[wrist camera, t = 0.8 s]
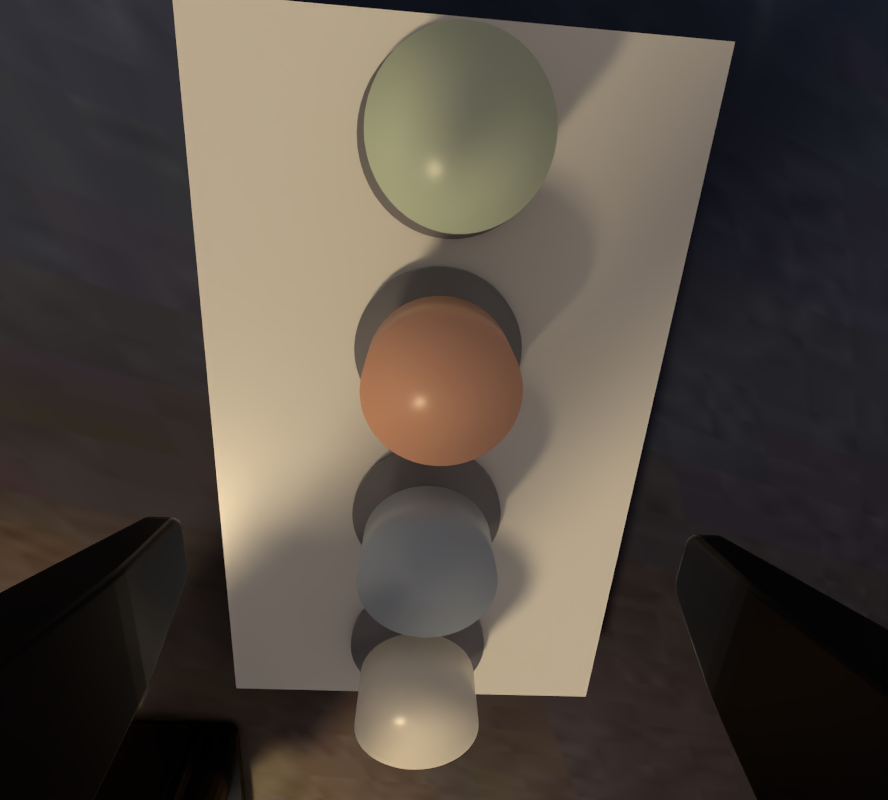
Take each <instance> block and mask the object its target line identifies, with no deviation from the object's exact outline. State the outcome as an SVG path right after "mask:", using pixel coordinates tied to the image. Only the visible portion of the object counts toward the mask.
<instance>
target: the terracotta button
mask: <svg viewBox="0 0 888 800" xmlns="http://www.w3.org/2000/svg"><path fill="white" fill-rule="evenodd" d="M359 391H360V402H361V407H362V411H363V414H364V417H365V420H366V421H367V423H368V425H369V427H370V429H371V430H372V432H373V433H374V435H375V436H376V437H377V438H378V439H379V440H380V442H381V443H382V444H384V445H385V446H386V447H387V448H388V449H389V450H391V451H392V452H394V453H396V454H397V455H399V456H401V457H403V458H405V459H407V460H410V461H413V462H415V463H419V464H424V465H431V466H450V465H457V464H461V463H465V462H468V461H471V460H474V459H476V458H478V457H480V456H482V455H484V454H486V453H487V452H488V451H490V450H491V449H493V448H494V447H495V446H496V445H498V444H499V443H500V442H501V441H502V440H503V439H504V437H505V436H506V435H507V434H508V432H509V431H510V430H511V428H512V427H513V425H514V423H515V421H516V419H517V417H518V414H519V411H520V408H521V403H522V397H523V382H522V376H521V371H520V368H519V365H518V362H517V360H516V358H515V355H514V353H513V351H512V349H511V347H510V345H509V343H508V341H507V338H506V336H505V335H504V333H503V331H502V329H501V327H500V326H499V325H498V323H497V322H496V321H495V320H494V319H493V318H492V317H491V316H490V315H489V314H488V313H487V312H486V311H484V310H483V309H482V308H480V307H478V306H477V305H475V304H473V303H471V302H469V301H466V300H464V299H460V298H456V297H450V296H430V297H424V298H420V299H416V300H413V301H411V302H409V303H406V304H404V305H403V306H401V307H399V308H398V309H396V310H395V311H394V312H392V313H391V314H390V315H389V316H388V317H387V318H386V319H385V320H384V321H383V322H382V324H381V325H380V326H379V328H378V329H377V331H376V333H375V335H374V336H373V339H372V341H371V344H370V347H369V350H368V354H367V357H366V360H365V364H364V367H363V371H362V375H361V379H360V389H359Z"/></svg>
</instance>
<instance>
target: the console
mask: <svg viewBox="0 0 888 800" xmlns="http://www.w3.org/2000/svg"><path fill="white" fill-rule="evenodd" d="M173 10H174V21H175V32H176V43H177V54H178V64H179V75H180V86H181V97H182V108H183V118H184V129H185V140H186V151H187V162H188V173H189V183H190V194H191V205H192V216H193V227H194V237H195V248H196V259H197V270H198V281H199V291H200V302H201V313H202V324H203V335H204V345H205V356H206V367H207V378H208V389H209V399H210V410H211V421H212V432H213V443H214V453H215V464H216V475H217V486H218V497H219V507H220V518H221V529H222V540H223V551H224V562H225V572H226V583H227V594H228V605H229V616H230V626H231V637H232V648H233V659H234V670H235V680H236V688H246V689H288V690H330V691H359V683H360V675H361V668H362V665H363V662H364V660H365V658H366V657H367V655H368V654H369V653H370V652H371V651H372V650H373V649H374V648H375V647H376V646H377V645H379V644H380V643H382V642H384V641H385V640H388V639H390V638H392V637H395V636H398V635H403V634H400V633H397V632H394V631H392V630H390V629H388V628H386V627H384V626H382V625H381V624H380V623H378V622H377V621H376V620H375V619H374V618H372V617H371V616H370V614H369V613H368V612H367V611H366V610H365V608H364V606H363V605H362V603H361V601H360V598H359V595H358V591H357V582H356V581H357V572H358V566H359V560H360V553H361V547H362V541H363V535H364V530H365V526H366V523H367V521H368V518H369V517H370V515H371V513H372V512H373V511H374V509H375V508H376V507H377V506H378V505H379V504H380V503H381V502H382V501H383V500H385V499H386V498H388V497H389V496H391V495H393V494H395V493H397V492H399V491H402V490H404V489H408V488H412V487H418V486H437V487H443V488H447V489H450V490H453V491H456V492H458V493H460V494H462V495H464V496H465V497H467V498H469V499H470V500H471V501H472V502H473V503H475V504H476V505H477V507H478V508H479V509H480V510H481V511H482V513H483V515H484V516H485V518H486V520H487V523H488V526H489V530H490V536H491V541H492V547H493V552H494V558H495V564H496V569H497V577H498V583H497V590H496V594H495V597H494V599H493V601H492V603H491V605H490V607H489V608H488V609H487V611H486V612H485V613H484V614H483V615H482V616H481V617H480V618H479V619H478V620H477V621H475V622H474V623H473V624H471V625H470V626H468V627H466V628H465V629H462V630H460V631H458V632H455V633H452V634H449V635H445V636H441V637H444V638H446V639H448V640H450V641H452V642H454V643H455V644H457V645H458V646H459V647H461V648H462V649H463V650H464V651H465V653H466V654H467V655H468V657H469V659H470V660H471V663H472V666H473V672H474V682H475V692H476V694H499V695H541V696H583V697H586V693H587V688H588V684H589V680H590V675H591V671H592V667H593V662H594V658H595V653H596V649H597V645H598V640H599V636H600V632H601V627H602V623H603V618H604V614H605V610H606V605H607V601H608V597H609V592H610V588H611V583H612V579H613V575H614V570H615V566H616V562H617V557H618V553H619V548H620V544H621V540H622V535H623V531H624V526H625V522H626V518H627V513H628V509H629V505H630V500H631V496H632V491H633V487H634V483H635V478H636V474H637V470H638V465H639V461H640V456H641V452H642V448H643V443H644V439H645V435H646V430H647V426H648V421H649V417H650V413H651V408H652V404H653V400H654V395H655V391H656V386H657V382H658V378H659V373H660V369H661V365H662V360H663V356H664V351H665V347H666V343H667V338H668V334H669V329H670V325H671V321H672V316H673V312H674V308H675V303H676V299H677V294H678V290H679V286H680V281H681V277H682V273H683V268H684V264H685V259H686V255H687V251H688V246H689V242H690V238H691V233H692V229H693V224H694V220H695V216H696V211H697V207H698V203H699V198H700V194H701V189H702V185H703V181H704V176H705V172H706V168H707V163H708V159H709V154H710V150H711V146H712V141H713V137H714V132H715V128H716V124H717V119H718V115H719V111H720V106H721V102H722V97H723V93H724V89H725V84H726V80H727V76H728V71H729V67H730V62H731V58H732V54H733V49H734V45H735V42H733V41H722V40H711V39H700V38H689V37H678V36H667V35H657V34H646V33H635V32H624V31H613V30H602V29H591V28H581V27H570V26H559V25H548V24H537V23H526V22H515V21H505V20H494V19H483V18H472V17H461V16H450V15H439V14H429V13H418V12H407V11H396V10H385V9H374V8H363V7H353V6H342V5H331V4H320V3H309V2H298V1H287V0H173ZM450 20H474V21H479V22H484V23H487V24H490V25H493V26H496V27H498V28H500V29H502V30H504V31H506V32H508V33H509V34H511V35H512V36H514V37H515V38H516V39H518V40H519V41H520V42H521V43H522V44H523V45H524V46H525V47H527V48H528V49H529V50H530V52H531V53H532V54H533V55H534V57H535V58H536V59H537V60H538V62H539V64H540V65H541V67H542V69H543V70H544V72H545V74H546V76H547V78H548V81H549V83H550V85H551V88H552V92H553V95H554V99H555V104H556V110H557V122H558V131H557V143H556V148H555V153H554V157H553V160H552V163H551V166H550V169H549V171H548V173H547V176H546V178H545V180H544V182H543V183H542V185H541V187H540V188H539V190H538V192H537V193H536V194H535V195H534V197H533V198H532V199H531V201H530V202H529V203H528V204H527V205H526V206H525V207H524V208H523V209H522V210H521V211H520V212H518V213H517V214H516V215H514V216H513V217H512V218H510V219H509V220H507V221H505V222H504V223H502V224H500V225H498V226H496V227H493V228H491V229H488V230H485V231H481V232H477V233H470V234H450V233H442V232H439V231H435V230H431V229H429V228H426V227H424V226H422V225H419V224H418V223H416V222H414V221H413V220H411V219H409V218H408V217H407V216H405V215H404V214H403V213H402V212H400V211H399V210H398V209H397V208H396V207H395V206H394V205H393V204H392V203H391V202H390V201H389V199H388V198H387V197H386V195H385V194H384V193H383V191H382V190H381V188H380V186H379V185H378V183H377V181H376V179H375V177H374V175H373V172H372V170H371V168H370V164H369V161H368V157H367V154H366V148H365V142H364V114H365V108H366V103H367V98H368V95H369V92H370V89H371V86H372V83H373V81H374V79H375V77H376V75H377V73H378V71H379V69H380V68H381V66H382V64H383V63H384V61H385V60H386V58H387V57H388V56H389V55H390V54H391V53H392V51H393V50H394V49H395V48H396V47H397V46H398V45H399V44H401V43H402V42H403V41H404V40H405V39H406V38H408V37H409V36H411V35H412V34H414V33H415V32H417V31H419V30H421V29H423V28H425V27H427V26H430V25H433V24H436V23H439V22H443V21H450ZM430 296H450V297H456V298H460V299H464V300H466V301H469V302H471V303H473V304H475V305H477V306H478V307H480V308H482V309H483V310H484V311H486V312H487V313H488V314H489V315H490V316H491V317H492V318H493V319H494V320H495V321H496V322H497V323H498V325H499V326H500V327H501V329H502V331H503V333H504V335H505V336H506V338H507V341H508V343H509V345H510V347H511V349H512V351H513V353H514V355H515V358H516V360H517V362H518V365H519V368H520V371H521V376H522V382H523V397H522V403H521V408H520V411H519V414H518V417H517V419H516V421H515V423H514V425H513V427H512V428H511V430H510V431H509V432H508V434H507V435H506V436H505V437H504V439H503V440H502V441H501V442H500V443H499V444H498V445H496V446H495V447H494V448H493V449H491V450H490V451H488V452H487V453H486V454H484V455H482V456H480V457H478V458H476V459H474V460H471V461H468V462H465V463H461V464H457V465H450V466H431V465H424V464H419V463H415V462H413V461H410V460H407V459H405V458H403V457H401V456H399V455H397V454H396V453H394V452H392V451H391V450H389V449H388V448H387V447H386V446H385V445H384V444H382V443H381V442H380V440H379V439H378V438H377V437H376V436H375V435H374V433H373V432H372V430H371V429H370V427H369V425H368V423H367V421H366V420H365V417H364V414H363V411H362V407H361V402H360V391H359V389H360V379H361V375H362V371H363V367H364V364H365V360H366V357H367V354H368V350H369V347H370V344H371V341H372V339H373V336H374V335H375V333H376V331H377V329H378V328H379V326H380V325H381V324H382V322H383V321H384V320H385V319H386V318H387V317H388V316H389V315H390V314H391V313H392V312H394V311H395V310H396V309H398V308H399V307H401V306H403V305H404V304H406V303H409V302H411V301H413V300H416V299H420V298H424V297H430Z"/></svg>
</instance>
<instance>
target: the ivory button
mask: <svg viewBox="0 0 888 800" xmlns="http://www.w3.org/2000/svg"><path fill="white" fill-rule="evenodd" d="M354 731H355V735H356V739H357V741H358V743H359V744H360V746H361V747H362V749H363V750H364V751H365V752H366V753H367V754H369V755H370V756H371V757H372V758H374V759H376V760H377V761H379V762H381V763H383V764H386V765H389V766H392V767H396V768H401V769H412V770H417V769H429V768H434V767H438V766H441V765H444V764H447V763H449V762H451V761H453V760H455V759H457V758H458V757H460V756H461V755H462V754H464V753H465V752H466V751H467V750H468V749H469V748H470V746H471V745H472V744H473V742H474V740H475V738H476V736H477V732H478V713H477V703H476V692H475V682H474V672H473V666H472V663H471V660H470V659H469V657H468V655H467V654H466V653H465V651H464V650H463V649H462V648H461V647H459V646H458V645H457V644H455V643H454V642H452V641H450V640H448V639H446V638H444V637H441V636H440V637H428V638H422V637H412V636H407V635H398V636H395V637H392V638H390V639H388V640H385V641H384V642H382V643H380V644H379V645H377V646H376V647H375V648H374V649H373V650H372V651H371V652H370V653H369V654H368V655H367V657H366V658H365V660H364V662H363V665H362V668H361V675H360V683H359V691H358V699H357V707H356V715H355V723H354Z"/></svg>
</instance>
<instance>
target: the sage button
mask: <svg viewBox="0 0 888 800" xmlns="http://www.w3.org/2000/svg"><path fill="white" fill-rule="evenodd" d="M557 131H558V122H557V110H556V104H555V99H554V95H553V92H552V88H551V85H550V83H549V81H548V78H547V76H546V74H545V72H544V70H543V69H542V67H541V65H540V64H539V62H538V60H537V59H536V58H535V57H534V55H533V54H532V53H531V52H530V50H529V49H528V48H527V47H525V46H524V45H523V44H522V43H521V42H520V41H519V40H518V39H516V38H515V37H514V36H512V35H511V34H509V33H508V32H506V31H504V30H502V29H500V28H498V27H496V26H493V25H490V24H487V23H484V22H479V21H474V20H450V21H443V22H439V23H436V24H433V25H430V26H427V27H425V28H423V29H421V30H419V31H417V32H415V33H414V34H412V35H411V36H409V37H408V38H406V39H405V40H404V41H403V42H402V43H401V44H399V45H398V46H397V47H396V48H395V49H394V50H393V51H392V53H391V54H390V55H389V56H388V57H387V58H386V60H385V61H384V63H383V64H382V66H381V68H380V69H379V71H378V73H377V75H376V77H375V79H374V81H373V83H372V86H371V89H370V92H369V95H368V98H367V103H366V108H365V114H364V142H365V148H366V154H367V157H368V161H369V164H370V168H371V170H372V172H373V175H374V177H375V179H376V181H377V183H378V185H379V186H380V188H381V190H382V191H383V193H384V194H385V195H386V197H387V198H388V199H389V201H390V202H391V203H392V204H393V205H394V206H395V207H396V208H397V209H398V210H399V211H400V212H402V213H403V214H404V215H405V216H407V217H408V218H409V219H411V220H413V221H414V222H416V223H418V224H419V225H422V226H424V227H426V228H429V229H431V230H435V231H439V232H442V233H450V234H470V233H477V232H481V231H485V230H488V229H491V228H493V227H496V226H498V225H500V224H502V223H504V222H505V221H507V220H509V219H510V218H512V217H513V216H514V215H516V214H517V213H518V212H520V211H521V210H522V209H523V208H524V207H525V206H526V205H527V204H528V203H529V202H530V201H531V199H532V198H533V197H534V195H535V194H536V193H537V192H538V190H539V188H540V187H541V185H542V183H543V182H544V180H545V178H546V176H547V173H548V171H549V169H550V166H551V163H552V160H553V157H554V153H555V148H556V143H557Z"/></svg>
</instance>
